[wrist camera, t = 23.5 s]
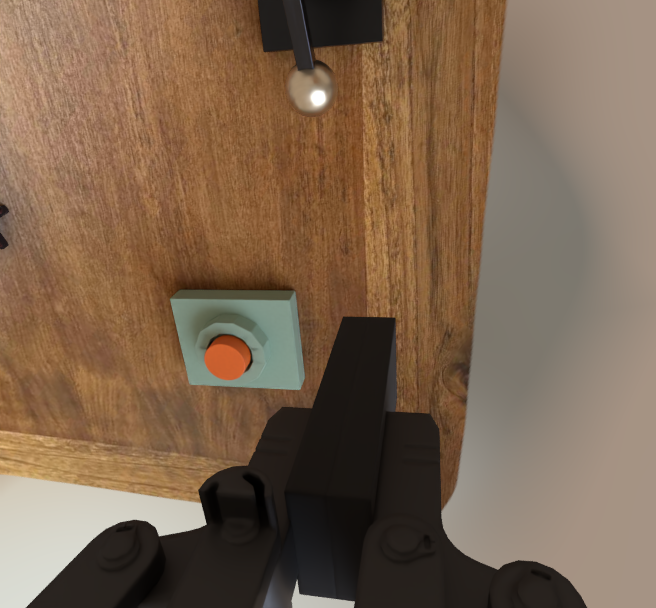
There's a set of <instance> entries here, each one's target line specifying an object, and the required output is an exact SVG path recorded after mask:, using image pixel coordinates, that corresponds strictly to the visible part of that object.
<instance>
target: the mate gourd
mask: <svg viewBox="0 0 656 608" xmlns="http://www.w3.org/2000/svg"><path fill="white" fill-rule="evenodd" d="M8 212H9V210H8V209H7V207H6V206H5V205H3V206H0V217H2V216H3V215H5V214H7V213H8ZM7 246H8V243H7V242H6V240H5V239H4V237H3V236H2V235H1V233H0V249H4V248H6V247H7Z"/></svg>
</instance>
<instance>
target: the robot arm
mask: <svg viewBox="0 0 656 608" xmlns="http://www.w3.org/2000/svg"><path fill="white" fill-rule="evenodd" d="M396 399H397V382H396V323H395V318H387V317H343V319H342V322H341V325H340V328H339V331H338V334H337V337H336V339H335V342H334V345H333V348H332V351H331V354H330V357H329V360H328V363H327V366H326V369H325V372H324V375H323V378H322V381H321V384H320V387H319V390H318V393H317V396H316V399H315V402H314V405H313V408H312V409H311V408H293V407H282V408H281V409H280V410H279V411H278V412H277V413H276V414H274V415H273V416H272V417H271V418H270V419H269V420H268V422H267V424H266V427H265V429H264V431H263V433H262V435H261V439H260V440H259V442H258V444H257V447H256V451H255V452H254V453H253V456H252V458H251V460H250V462H249V464H248V466H235V467H230V468H227V469H224V470H222V471H219V472H217V473H216V474H214V475H213V476H211V477H210V478H208V479H207V480H206V481H205V482H204V484H203V485H202V486H201V487H200V489H199V490H198V491H199V495H200V499H201V503H202V507H203V511H204V515H205V519H206V523H207V525H205V526H203V527H201V528H198V529H194V530H191V531H186V532H181V533H176V534H170V535H165V536H158V533H157V530H156V528H155V527H154V526H152V525H151V524H149V523H148V522H146V521H139V520H131V521H126V522H120V523H118V524H116V525H114V526H112V527H109V528H108V529H106V530H104V531H103V532H102V533H100V534H99V535H98V536H97V537H96V538H94V539H93V540H92V541H91V542H90V543H89V544H88V545H87V546H86V547H85V548H84V549H83V550H82V551H81V552H80V553H79V554H78V555H77V556H76V557H75V558H74V559H73V560H72V561H71V562H70V563H69V564H68V565H67V566H66V567H65V568H64V569H63V570H62V571H61V572H60V573H59V574H58V575H57V577H56V578H55V579H54V580H53V581H52V582H51V583H50V584H49V585H48V586H47V587H46V588H45V589H44V590H43V591H42V592H41V593H40V594H39V595H38V596H37V597H36V598H35V599H34V600H33V601H32V602H31V603H30V604H29V605H28V606H27V607H26V608H292V602H291V600H292V596H293V592H294V589H295V585H296V581H297V580H298V587H299V593H300V594H303V595H310V596H318V597H326V598H334V599H341V600H348V601H355V605H354V608H587V607H586V605H585V603H584V601H583V599H582V597H581V596H580V594H579V593H578V592H577V591H576V589H575V588H574V586H573V585H572V584H571V583H570V581H569V580H568V579H566V578H565V577H564V576H562V575H561V574H560V573H558V572H557V571H556V570H554V569H553V568H550V567H547V566H545V565H543V564H540V563H538V562H533V561H519V560H518V561H515V562H511V563H508V564H505V565H503V566H502V567H501V568H500V569H499V570H497V569H495V568H492V567H490V566H487V565H485V564H482V563H480V562H478V561H476V560H474V559H471V558H470V557H468V556H466V555H464V554H463V553H462V552H461V551H460V550H458V549H457V548H456V547H455V546H454V545H453V544H452V542H451V541H450V540H449V539H448V537H447V535H446V533H445V531H444V529H443V525H442V519H441V479H440V436H439V428H438V426H437V425H436V423H435V421H434V420H433V418H432V417H431V415H430V414H425V413H407V412H395V409H396Z"/></svg>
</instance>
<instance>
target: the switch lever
mask: <svg viewBox="0 0 656 608" xmlns="http://www.w3.org/2000/svg"><path fill="white" fill-rule="evenodd" d="M282 1H283V5H284V10H285V15H286V19H287V24H288V28H289V33H290V37H291V42H292V46H293V51H294V56H295V60H296V65H295V66H294V67H293V68H292V69H291V70H290V72H289V73H288V76H287V78H286V82H285V94H286V97H287V100H288V102H289V104H290V106H291V107H292V108H293V109H294V110H295V111H296V112H297V113H299V114H301V115H303V116H307V117H317V116H320V115H323V114H325V113H326V112H327V111H329V110H330V109H331V107H332V106H333V104H334V103H335V101H336V98H337V94H338V83H337V79H336V76H335V74H334V72H333V71H332V70H331V68H330V67H329V66H328V65H326V64H325V63H323V62H321V61H319V60H316V59H315V53H314V48H313V42H312V37H311V32H310V26H309V21H308V15H307V10H306V4H305V0H282Z"/></svg>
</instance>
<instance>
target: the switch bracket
mask: <svg viewBox="0 0 656 608" xmlns="http://www.w3.org/2000/svg"><path fill="white" fill-rule="evenodd" d="M305 4H306V10H307V15H308V21H309V26H310V32H311V37H312V42H313V48H322V47H333V46H344V45H355V44H366V43H378V42H384V15H383V0H305ZM258 7H259V16H260V24H261V33H262V42H263V50H264V52H277V51H288V50H293V46H292V42H291V37H290V33H289V28H288V24H287V19H286V15H285V10H284V5H283V1H282V0H258Z"/></svg>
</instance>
